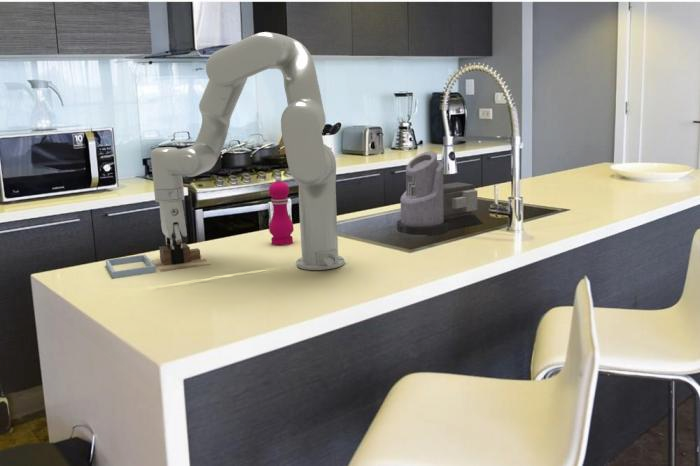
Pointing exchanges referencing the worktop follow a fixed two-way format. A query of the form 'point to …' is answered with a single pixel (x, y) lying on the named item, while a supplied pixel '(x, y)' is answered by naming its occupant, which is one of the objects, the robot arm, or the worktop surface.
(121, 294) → the worktop surface
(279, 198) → the pepper mill
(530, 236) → the worktop surface
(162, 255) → the collar
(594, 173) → the worktop surface
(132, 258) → the tray
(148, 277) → the worktop surface
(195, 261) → the stake board
